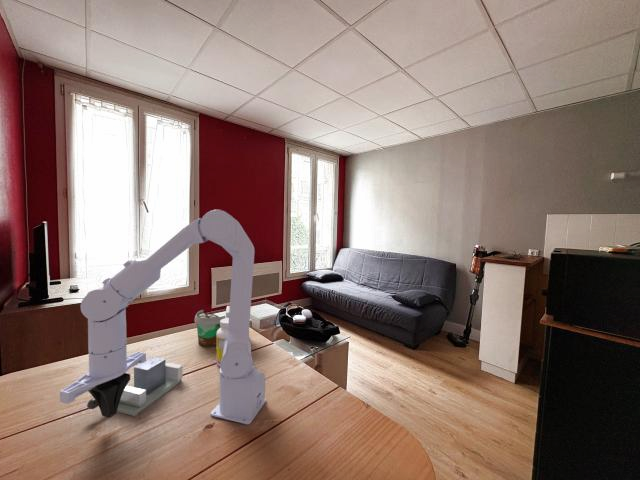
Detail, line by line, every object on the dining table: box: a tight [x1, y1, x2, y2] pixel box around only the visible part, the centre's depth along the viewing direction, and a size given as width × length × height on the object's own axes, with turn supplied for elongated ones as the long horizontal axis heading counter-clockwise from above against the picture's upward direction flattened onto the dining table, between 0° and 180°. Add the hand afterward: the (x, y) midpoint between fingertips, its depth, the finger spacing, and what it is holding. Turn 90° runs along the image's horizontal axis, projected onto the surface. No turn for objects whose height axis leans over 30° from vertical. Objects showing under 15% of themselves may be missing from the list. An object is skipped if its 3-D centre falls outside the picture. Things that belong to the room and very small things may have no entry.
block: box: [133, 356, 166, 395], centre depth 63 cm, size 5×4×6 cm
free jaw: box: [86, 384, 146, 410], centre depth 55 cm, size 9×6×3 cm
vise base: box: [116, 362, 184, 417], centre depth 62 cm, size 9×13×4 cm, turn 165°
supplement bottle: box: [215, 317, 229, 367], centre depth 76 cm, size 7×7×13 cm
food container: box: [194, 309, 226, 348], centre depth 88 cm, size 12×6×10 cm, turn 62°
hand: (109, 414), depth 51 cm, fingers closed
